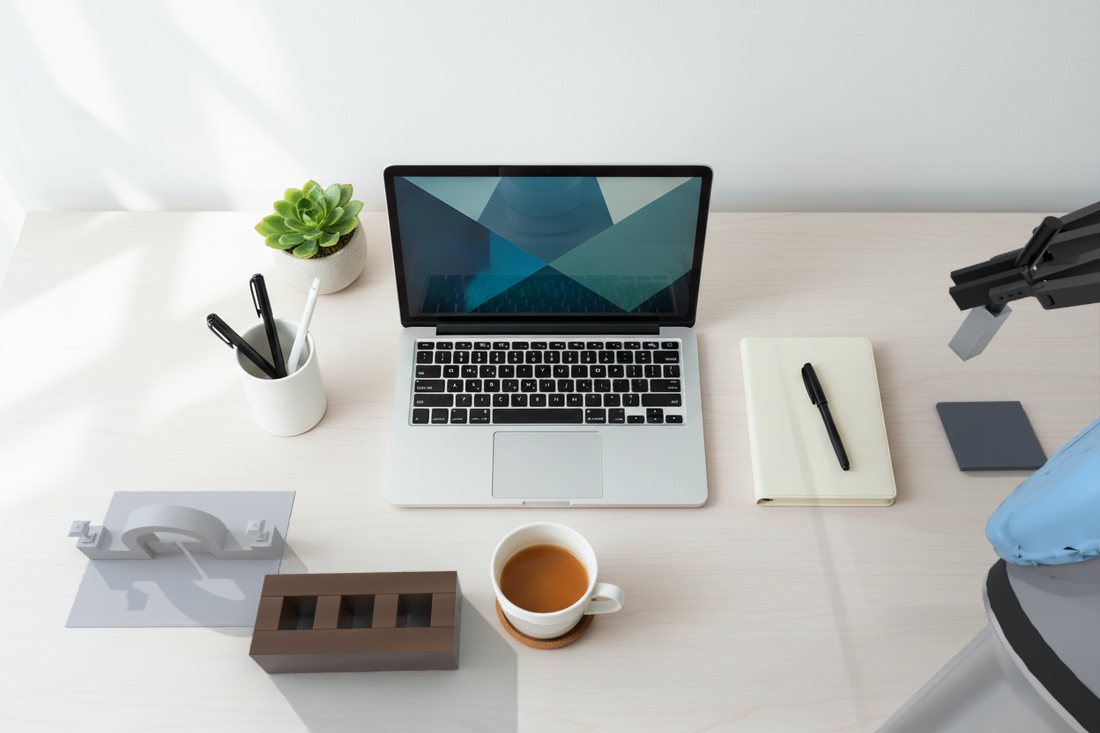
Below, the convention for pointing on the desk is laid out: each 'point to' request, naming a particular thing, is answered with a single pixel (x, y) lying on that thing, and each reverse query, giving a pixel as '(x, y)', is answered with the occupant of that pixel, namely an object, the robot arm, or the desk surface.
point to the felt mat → (991, 436)
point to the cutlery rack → (332, 630)
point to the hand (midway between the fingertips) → (956, 291)
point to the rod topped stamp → (992, 316)
